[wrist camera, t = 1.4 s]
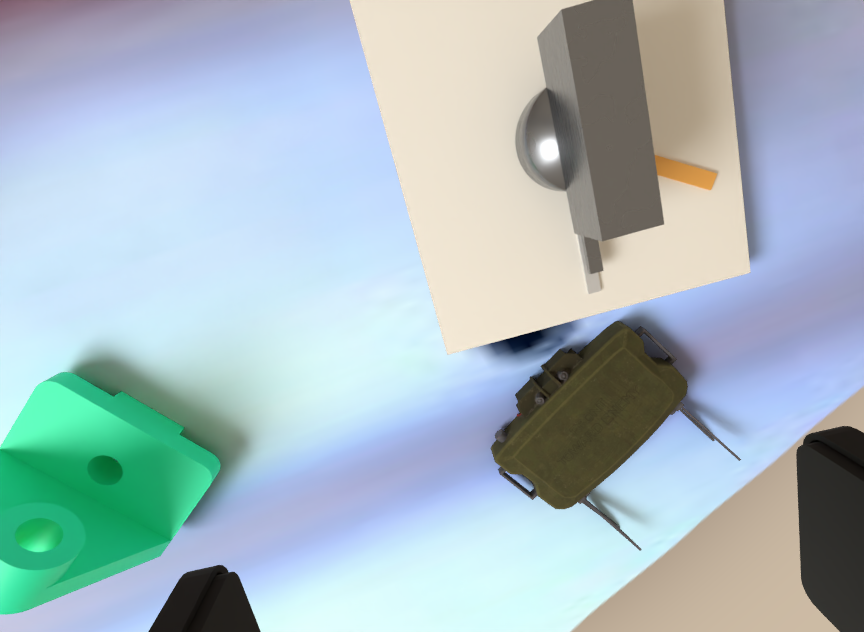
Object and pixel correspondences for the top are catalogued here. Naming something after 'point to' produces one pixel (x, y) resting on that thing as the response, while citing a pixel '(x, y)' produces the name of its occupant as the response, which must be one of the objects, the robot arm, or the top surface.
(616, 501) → the top surface
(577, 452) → the landmine
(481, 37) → the dial plate
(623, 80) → the knob
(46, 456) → the camera mount
